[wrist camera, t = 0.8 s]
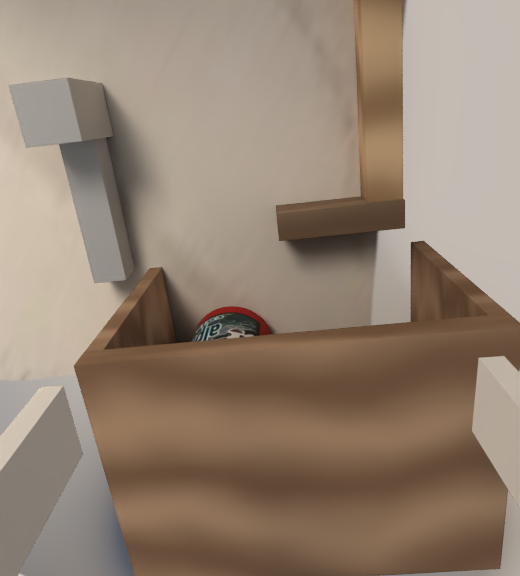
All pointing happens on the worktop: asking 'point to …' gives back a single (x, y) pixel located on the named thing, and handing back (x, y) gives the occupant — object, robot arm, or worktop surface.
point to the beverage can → (230, 325)
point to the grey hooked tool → (81, 163)
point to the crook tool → (366, 136)
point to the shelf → (302, 438)
